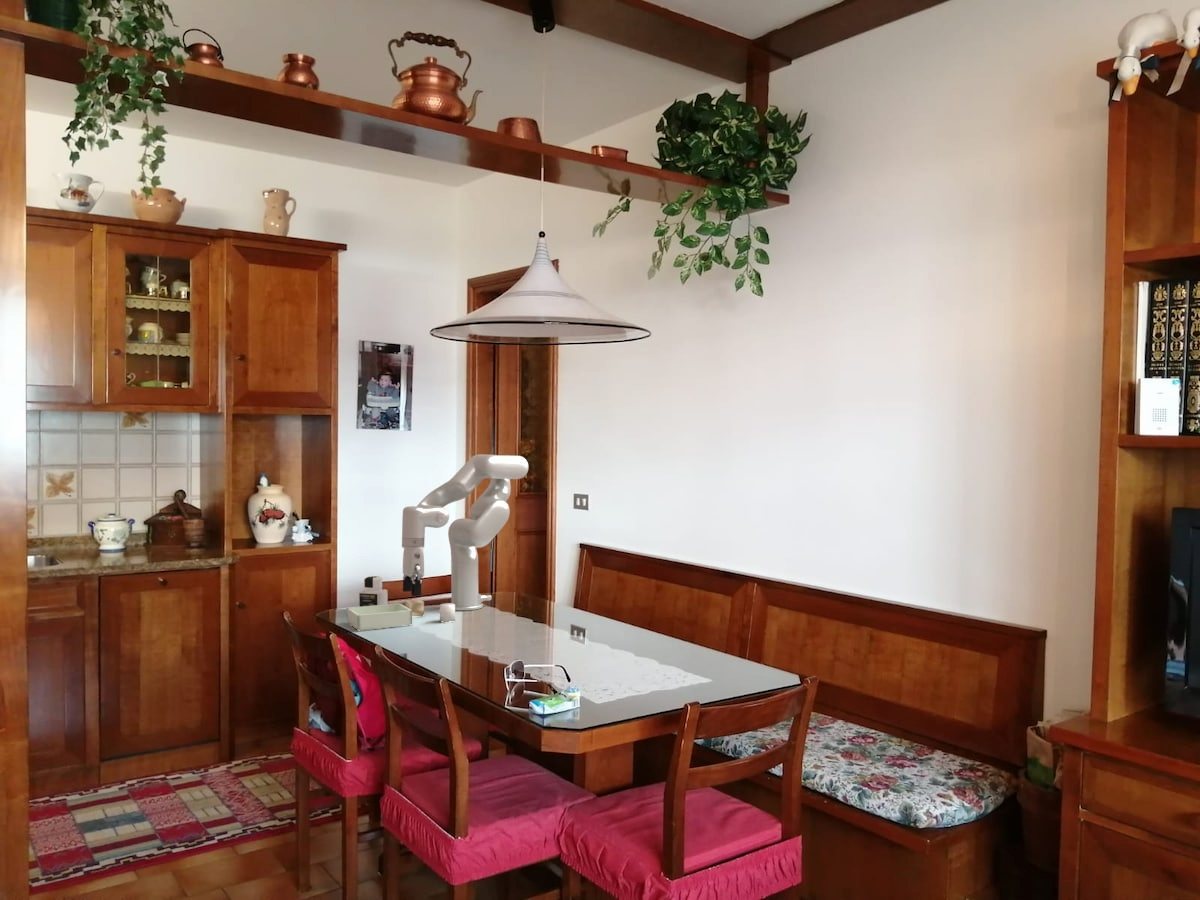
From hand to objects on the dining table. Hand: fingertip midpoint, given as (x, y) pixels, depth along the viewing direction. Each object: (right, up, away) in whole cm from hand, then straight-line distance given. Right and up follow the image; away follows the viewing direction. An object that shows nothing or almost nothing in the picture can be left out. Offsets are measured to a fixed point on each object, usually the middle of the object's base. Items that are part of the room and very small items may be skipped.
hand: (411, 593), depth 312 cm
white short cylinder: (+13, -8, -8) cm, 17 cm away
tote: (-8, -8, -12) cm, 17 cm away
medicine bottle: (-15, -8, +10) cm, 20 cm away
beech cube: (+1, -8, +1) cm, 8 cm away
